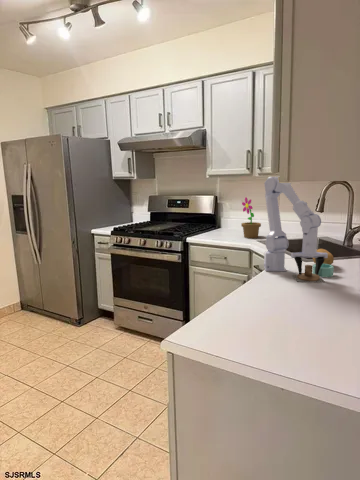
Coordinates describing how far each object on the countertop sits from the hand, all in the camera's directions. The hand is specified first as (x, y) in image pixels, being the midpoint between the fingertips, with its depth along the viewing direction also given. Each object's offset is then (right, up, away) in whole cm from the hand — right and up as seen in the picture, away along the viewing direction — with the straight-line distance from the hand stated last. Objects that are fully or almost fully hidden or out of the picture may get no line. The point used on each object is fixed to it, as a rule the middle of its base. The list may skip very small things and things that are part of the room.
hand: (308, 274), depth 140 cm
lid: (0, -2, 0) cm, 2 cm away
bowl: (+9, -1, +6) cm, 11 cm away
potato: (+15, +1, +19) cm, 24 cm away
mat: (0, -2, 0) cm, 2 cm away
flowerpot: (-2, +17, +104) cm, 105 cm away
